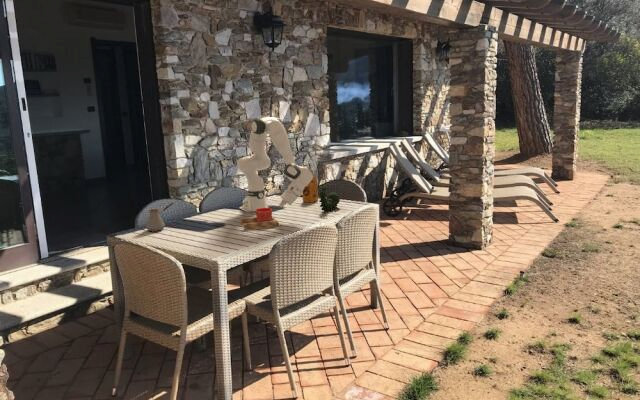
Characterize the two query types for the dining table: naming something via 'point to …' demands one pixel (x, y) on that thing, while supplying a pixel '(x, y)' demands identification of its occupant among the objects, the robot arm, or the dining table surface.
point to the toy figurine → (328, 200)
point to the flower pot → (263, 214)
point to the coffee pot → (155, 220)
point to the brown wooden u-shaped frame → (258, 223)
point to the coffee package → (311, 191)
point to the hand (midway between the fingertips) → (280, 206)
